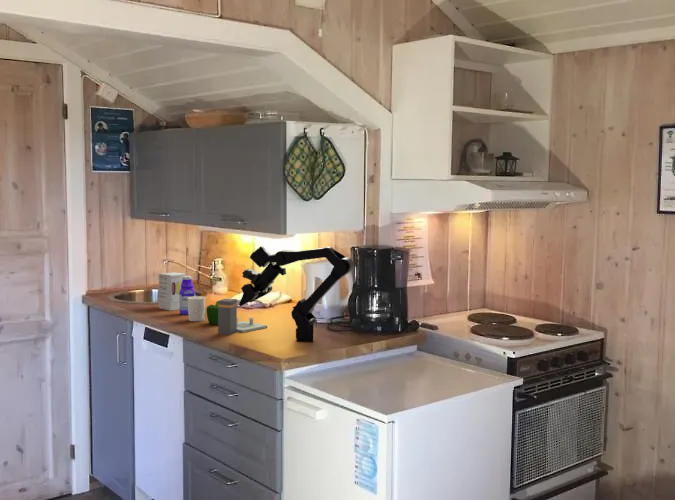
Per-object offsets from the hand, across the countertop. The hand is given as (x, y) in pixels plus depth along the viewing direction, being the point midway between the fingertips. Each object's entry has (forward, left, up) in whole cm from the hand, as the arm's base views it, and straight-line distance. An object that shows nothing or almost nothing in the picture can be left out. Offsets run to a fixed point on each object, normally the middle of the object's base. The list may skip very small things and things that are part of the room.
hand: (244, 303), depth 296 cm
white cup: (+25, -29, -13) cm, 40 cm away
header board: (+2, -14, -13) cm, 19 cm away
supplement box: (+42, -56, -13) cm, 71 cm away
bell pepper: (+15, -22, -13) cm, 29 cm away
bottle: (+32, -43, -13) cm, 55 cm away
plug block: (+7, -3, -13) cm, 15 cm away
